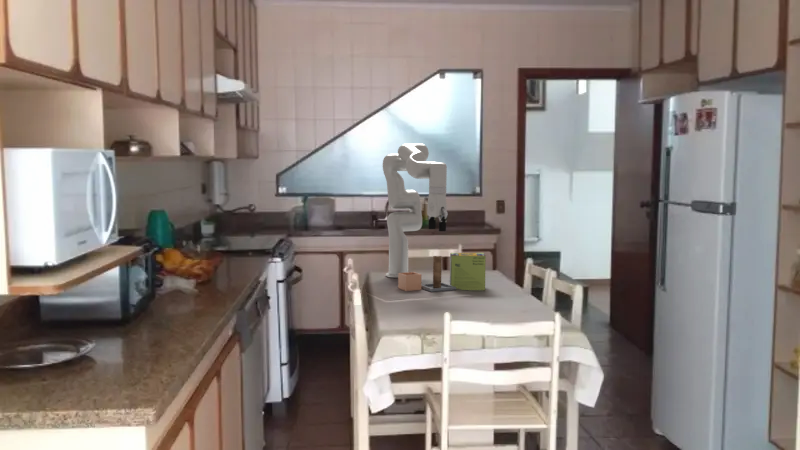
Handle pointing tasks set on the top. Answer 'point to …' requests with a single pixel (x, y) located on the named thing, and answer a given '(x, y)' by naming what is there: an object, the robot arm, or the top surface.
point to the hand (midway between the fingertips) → (437, 230)
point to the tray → (443, 288)
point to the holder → (409, 281)
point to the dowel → (437, 271)
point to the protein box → (467, 271)
